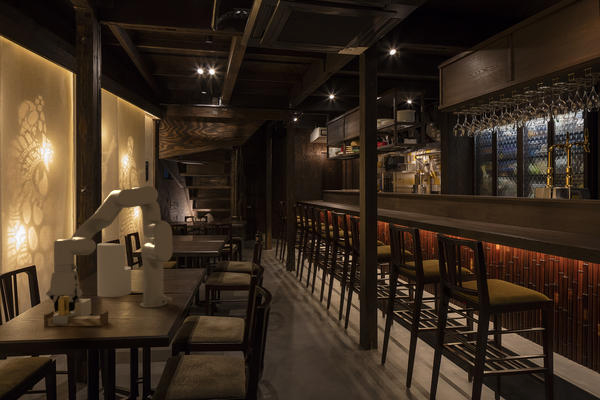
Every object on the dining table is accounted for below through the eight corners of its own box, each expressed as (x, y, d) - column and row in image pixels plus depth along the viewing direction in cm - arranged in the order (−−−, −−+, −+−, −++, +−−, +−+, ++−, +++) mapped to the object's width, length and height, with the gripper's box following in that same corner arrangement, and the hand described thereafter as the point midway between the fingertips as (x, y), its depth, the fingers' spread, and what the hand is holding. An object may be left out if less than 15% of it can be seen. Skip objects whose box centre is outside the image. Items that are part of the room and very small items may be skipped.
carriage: (76, 319, 178) (75, 295, 178) (67, 324, 171) (67, 299, 171) (62, 319, 178) (61, 295, 177) (52, 324, 171) (52, 299, 171)
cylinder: (111, 298, 218) (110, 246, 218) (90, 295, 227) (90, 244, 227) (138, 292, 233) (137, 242, 233) (118, 288, 242) (117, 241, 242)
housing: (91, 313, 190) (90, 298, 190) (80, 320, 180) (80, 304, 180) (71, 314, 190) (71, 299, 190) (59, 320, 180) (59, 304, 180)
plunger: (82, 306, 187) (81, 292, 187) (77, 309, 183) (77, 293, 183) (74, 307, 187) (73, 292, 187) (69, 309, 183) (69, 293, 183)
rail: (108, 322, 177) (108, 310, 177) (102, 325, 172) (102, 314, 172) (51, 322, 177) (51, 311, 177) (44, 326, 172) (43, 314, 172)
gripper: (89, 266, 178) (89, 308, 178) (49, 266, 178) (49, 308, 178) (80, 269, 170) (80, 313, 171) (38, 269, 170) (38, 313, 170)
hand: (64, 310), depth 174 cm, fingers open, 5 cm apart
